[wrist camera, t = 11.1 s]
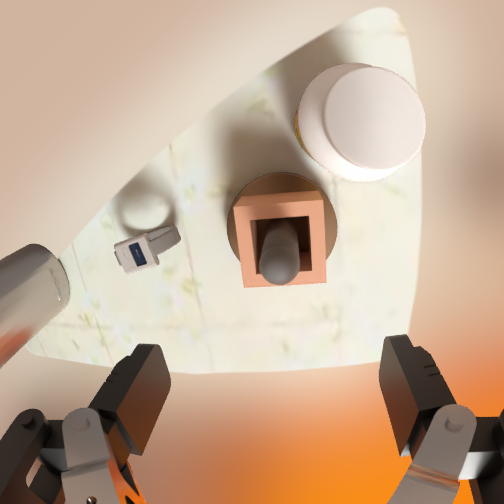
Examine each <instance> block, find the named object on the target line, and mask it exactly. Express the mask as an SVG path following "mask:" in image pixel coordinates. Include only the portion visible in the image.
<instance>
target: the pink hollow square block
mask: <svg viewBox="0 0 504 504" xmlns="http://www.w3.org/2000/svg"><path fill="white" fill-rule="evenodd" d="M233 209H234V217H235V224H236V232H237V239H238V247H239V254H240V262H241V269H242V277H243V284H244V288H248V287H266V286H283V285H274V284H271V283H269V282H268V281H266V280H265V279H264V277H263V276H262V274H261V272H260V268H259V261H260V257H261V252H260V243H259V234H258V225H257V220H258V219H270V218H283V217H297V216H307V227H308V243H309V251H307V252H299V259H300V268H299V272H298V274H297V276H296V277H295V278H294V280H292V281H291V282H290V283H288V284H285V285H299V284H314V283H326V248H325V224H324V206H323V199H322V197H321V195H320V194H319V192H318V190H316V191H301V192H288V193H275V194H264V195H252V196H242V197H241V198H240V199H239V200H238V202H237V203H236V204H235V206H234V207H233Z"/></svg>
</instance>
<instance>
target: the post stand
mask: <svg viewBox="0 0 504 504" xmlns="http://www.w3.org/2000/svg"><path fill="white" fill-rule="evenodd" d="M316 190H318V192H319V194H320V195H321V197H322V199H323V206H324V224H325V248H326V260H327V258H328V257H329V255H330V254H331V252H332V250H333V247H334V245H335V241H336V237H337V219H336V215H335V211H334V209H333V206H332V204H331V203H330V201H329V199H328V198H327V196H326V195H325V193H324V192H323V191H322V190H321V189H320V188H319V187H318V186H317V185H316V184H315V183H313V182H312V181H310V180H308V179H307V178H305V177H302V176H300V175H296V174H293V173H271V174H268V175H264V176H262V177H259V178H257V179H256V180H254V181H252V182H251V183H250V184H248V185H247V186H246V187H245V188H244V189H243V190H242V191H241V192H240V193H239V195H238V196H237V197H236V199H235V200H234V202H233V204H232V206H231V208H230V211H229V215H228V219H227V235H228V240H229V243H230V246H231V248H232V250H233V252H234V254H235V255H236V257H237V258H238V260H239V261H240V254H239V247H238V239H237V232H236V224H235V217H234V209H233V207H234V206H235V204H236V203H237V202H238V200H239V199H240V198H241V197H242V196H252V195H264V194H275V193H288V192H301V191H316ZM257 225H258V234H259V243H260V252H261V257H260V261H259V268H260V272H261V274H262V276H263V277H264V279H265V280H266V281H268V282H269V283H271V284H274V285H285V284H288V283H290V282H291V281H292V280H294V278H295V277H296V276H297V274H298V272H299V268H300V259H299V252H307V251H309V243H308V227H307V216H297V217H283V218H270V219H258V220H257Z"/></svg>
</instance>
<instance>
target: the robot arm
mask: <svg viewBox="0 0 504 504" xmlns="http://www.w3.org/2000/svg"><path fill="white" fill-rule="evenodd" d="M69 294H70V292H69V284H68V280H67V277H66V274H65V271H64V269H63V268H62V266H61V264H60V262H59V261H58V260H57V258H56V257H55V256H54V255H53V254H52V253H51V252H50V251H49V250H48V249H47V248H45V247H43V246H41V245H39V244H29V245H27V246H25V247H23V248H21V249H20V250H18V251H16V252H14V253H12V254H11V255H9V256H6V257H5V258H3V259H1V260H0V368H1V367H2V366H3V365H4V364H5V363H6V362H7V361H8V360H9V359H11V357H13V355H15V354H16V352H18V351H19V349H21V348H22V347H23V346H24V345H25V344H26V343H27V342H28V341H29V340H30V339H31V338H32V337H33V336H34V335H36V334H37V333H38V332H39V331H40V330H41V329H42V328H43V327H44V326H45V325H47V324H48V323H49V322H50V321H51V320H52V319H53V318H54V317H55V316H56V315H58V314H59V313H60V312H61V311H62V310H63V309H64V308H65V307H66V305H67V304H68V301H69ZM379 382H380V387H381V391H382V394H383V397H384V400H385V404H386V407H387V411H388V414H389V418H390V421H391V425H392V428H393V432H394V436H395V439H396V443H397V447H398V451H399V455H400V457H402V456H407V455H411V458H412V463H411V465H410V467H409V468H408V470H407V472H406V474H405V475H404V477H403V479H402V480H401V482H400V484H399V486H398V487H397V489H396V491H395V492H394V494H393V495H392V497H391V498H390V500H389V501H388V503H387V504H452V503H453V501H454V499H455V497H456V494H457V492H458V489H459V486H460V482H458V479H468V480H469V483H470V487H471V491H472V495H473V499H474V503H475V504H504V409H503V411H502V412H501V414H500V416H499V417H475V415H474V414H473V412H472V411H471V410H470V409H468V408H467V407H464V406H462V405H458V404H457V403H456V401H455V399H454V397H453V396H452V394H451V392H450V390H449V388H448V386H447V384H446V382H445V380H444V378H443V376H442V375H441V374H440V371H439V369H438V367H437V366H436V363H435V361H434V360H433V358H432V356H431V354H429V353H428V352H427V351H426V350H424V349H423V348H422V347H420V346H419V347H413V345H412V343H411V341H410V340H409V338H408V336H407V335H406V334H403V335H396V336H388V337H385V339H384V344H383V351H382V357H381V363H380V369H379ZM170 387H171V378H170V374H169V371H168V368H167V365H166V362H165V359H164V355H163V352H162V349H161V347H160V346H159V345H158V344H138V345H137V346H136V348H135V349H134V351H133V353H132V354H131V356H126V357H125V358H123V359H122V360H121V361H119V362H118V363H117V364H116V366H115V367H114V369H113V370H112V372H111V374H110V375H109V376H108V377H107V379H106V382H104V383H103V385H102V386H101V388H100V390H99V391H98V392H97V394H96V396H95V397H94V399H93V400H92V402H91V403H90V405H89V407H88V408H79V409H76V410H74V411H72V412H70V413H69V414H68V415H67V416H66V417H65V419H64V420H47V419H46V418H45V416H44V415H43V413H42V412H41V411H40V410H38V409H28V410H25V411H23V412H21V413H20V414H19V415H18V416H17V417H16V418H15V420H14V421H13V423H12V424H11V425H10V427H9V429H8V430H7V431H6V433H5V434H4V436H3V437H2V439H1V440H0V504H64V503H65V501H66V504H147V503H146V502H145V500H144V497H143V495H142V493H141V491H140V488H139V486H138V484H137V481H136V479H135V476H134V474H133V471H132V469H131V466H130V463H129V462H128V460H127V459H128V457H129V454H130V453H131V454H135V455H142V454H143V452H144V449H145V447H146V445H147V442H148V440H149V437H150V435H151V433H152V430H153V428H154V426H155V423H156V421H157V419H158V416H159V414H160V412H161V409H162V407H163V405H164V402H165V400H166V398H167V395H168V393H169V391H170ZM36 458H37V459H38V460H39V461H40V462H41V463H42V464H41V466H40V468H39V469H38V472H37V474H36V475H35V477H34V479H33V481H32V483H31V485H30V486H29V488H28V486H27V484H26V476H27V474H28V472H29V470H30V468H31V467H32V465H33V463H34V461H35V460H36Z"/></svg>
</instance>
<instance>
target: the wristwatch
mask: <svg viewBox="0 0 504 504" xmlns="http://www.w3.org/2000/svg"><path fill="white" fill-rule="evenodd" d="M180 240H181V237H180V235H179V232H178V230H177V227H176V226H167V227H163V228H160V229H157V230H154V231H151V232H149V233H143V234H140V235H138V236H135V237H132V238H130V239H127V240H124V241H122V242H119V243H116V244H115V245H114V249H115V252H114V253H115V256H116V258H117V260H118V262H119V264H120V265H121V266H122V267H123V269H124V271H125V273H126V274H131V273H134V272H137V271H141V270H144V269H147V268H150V267H154V266H157V265H159V259H158V257H157V255H158V254H160V253H162V252H164V251H166V250H168V249H170V248H171V247H173V246H174V245H176V244H177V243H179V242H180Z"/></svg>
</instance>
